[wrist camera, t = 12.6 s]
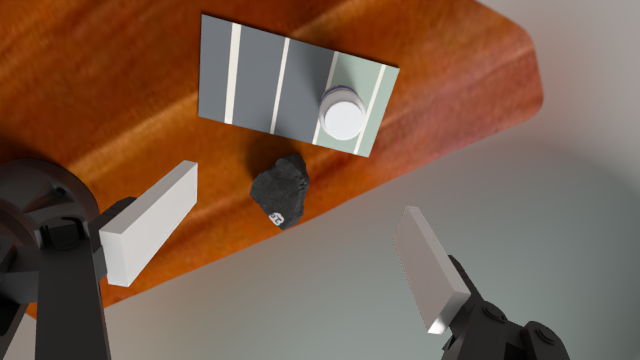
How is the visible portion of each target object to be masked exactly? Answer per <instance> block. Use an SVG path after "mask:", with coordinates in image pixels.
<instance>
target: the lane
mask: <svg viewBox="0 0 640 360" xmlns="http://www.w3.org/2000/svg"><path fill="white" fill-rule="evenodd" d="M399 70H400V69H398V68H394V67H391V66H387V65H384V64H380V63H376V62H373V61H369V60H366V59H362V58H358V57H355V56H351V55H347V54H344V53H340V52H337V51H333V50H329V49H326V48H322V47H319V46H315V45H311V44H308V43H304V42H300V41H297V40H293V39H290V38H286V37H282V36H279V35H275V34H272V33H268V32H264V31H261V30H257V29H253V28H250V27H246V26H243V25H239V24H235V23H232V22H228V21H225V20H221V19H217V18H214V17H210V16H206V15H203V14H202V28H201V56H200V84H199V112H198V116H199V117H204V118H208V119H212V120H216V121H220V122H224V123H228V124H233V125H237V126H241V127H245V128H249V129H253V130H257V131H262V132H266V133H270V134H274V135H278V136H282V137H286V138H291V139H295V140H299V141H303V142H307V143H311V144H315V145H320V146H324V147H328V148H332V149H336V150H340V151H344V152H349V153H353V154H357V155H361V156H365V157H369V154H370V151H371V148H372V146H373V143H374V140H375V137H376V134H377V132H378V129H379V126H380V123H381V120H382V117H383V115H384V112H385V109H386V106H387V103H388V101H389V98H390V95H391V92H392V89H393V86H394V84H395V81H396V78H397V75H398V72H399ZM334 85H346V86H349V87H351V88H352V89H353V90H354V91H355V92H356V93H357V94H358V96H359V97H360V98H361V100H362V101H363V103H364V105H365V109H366V119H365V122H364V124H363V126H362V129H361V131H360V132H359V133H358V134H357V135H356V136H355V137H353V138H351V139H348V140H338V139H335V138H333V137H332V136H330V135H329V134H327V133H326V132H325V131H324V130H323V128H322V127H321V125H320V122H319V105H320V100H321V97H322V95H323V93H324V92H325V91H326V90H327V89H328V88H330V87H332V86H334Z"/></svg>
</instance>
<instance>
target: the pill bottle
mask: <svg viewBox="0 0 640 360" xmlns="http://www.w3.org/2000/svg"><path fill="white" fill-rule="evenodd" d="M365 119H366V109H365V105H364V103H363V101H362V100H361V98H360V97H359V96H358V94H357V93H356V92H355V91H354V90H353V89H352V88H351V87H349V86H346V85H334V86H332V87H330V88H328V89H327V90H326V91H325V92H324V93H323V95H322V97H321V100H320V105H319V122H320V125H321V127H322V128H323V130H324V131H325V132H326V133H327V134H329V135H330V136H332V137H333V138H335V139H338V140H348V139H351V138H353V137H355V136H356V135H357V134H358V133H359V132H360V131H361V129H362V126H363V124H364V122H365Z"/></svg>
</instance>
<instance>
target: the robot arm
mask: <svg viewBox="0 0 640 360" xmlns="http://www.w3.org/2000/svg"><path fill="white" fill-rule="evenodd" d="M197 164H198V163H195V162H191V161H186V160H184V161H183V162H181V163H180V164H179V165H178V166H177V167H175V168H174V169H173V170H172V171H170V172H169V173H168V174H167V175H166V176H164V177H163V178H162V179H161V180H160V181H158V182H157V183H156V184H155V185H153V186H152V187H151V188H150V189H149V190H147V191H146V192H145V193H144V194H143V195H141V196H140V197H139V198H135V197H127V198H125V199H122V200H120V201H117V202H116V203H115V204H113V205H112V206H111V207H110V208H109V209H107V210H106V211H104V212H103V213H102V215H101V214H100V215H99V209H98V206H97V203H96V201H95V199H94V197H93V196H92V194H91V193H90V191H89V190H88V189H87V188H86V187H85V186H84V185H83V184H82V183H81V182H80V181H79V180H78V179H77V178H76V177H74V176H73V175H72V174H70V173H69V172H67V171H66V170H64V169H62V168H60V167H58V166H56V165H54V164H52V163H49V162H46V161H42V160H38V159H31V158H21V159H15V160H12V161H9V162H6V163H4V164H1V165H0V360H3V358H4V356H5V354H6V351H7V349H8V347H9V345H10V343H11V341H12V339H13V337H14V335H15V333H16V330H17V328H18V326H19V324H20V322H21V320H22V318H23V316H24V314H25V311H26V309H27V307H28V305H29V303H33V302H37V323H36V345H35V360H111V354H110V349H109V341H108V335H107V328H106V323H105V316H104V309H103V302H102V296H101V289H100V284H99V281H100V280H101V279H102V278H103V277H104V276H105V275H106V274H107V278H108V283H109V284H113V285H119V286H126V287H129V286H130V284H131V283H132V282H133V281H134V279H135V278H136V277H137V276H138V274H139V273H140V272H141V271H142V269H143V268H144V267H145V266H146V264H147V263H148V262H149V261H150V259H151V258H152V257H153V256H154V254H155V253H156V252H157V251H158V249H159V248H160V247H161V246H162V244H163V243H164V242H165V241H166V239H167V238H168V237H169V236H170V234H171V233H172V232H173V231H174V229H175V228H176V227H177V226H178V225H179V223H180V222H181V221H182V220H183V218H184V217H185V216H186V215H187V213H188V212H189V211H190V210H191V208H192V207H193V206H194V205H195V203H196V202H197ZM392 240H393V243H394V245H395V248H396V250H397V253H398V256H399V258H400V261H401V264H402V266H403V269H404V272H405V274H406V277H407V280H408V282H409V285H410V287H411V290H412V293H413V295H414V298H415V301H416V303H417V306H418V308H419V311H420V314H421V316H422V319H423V321H424V324H425V327H426V329H427V332H429V333H436V334H444V332H445V331H446V329H447V328H448V327H450V329H451V331H452V333H453V335H452V336H451V337H450V339H449V340H448V341H447V343H446V344H445V346H444V347H443V348H442V349H443V350H444V354H443V356H442V359H441V360H570V358H569V356H568V353H567V351H566V349H565V346H564V344H563V343H562V341H561V339H560V338H559V337H558V336H557V335H556V334H555V333H554V332H553V331H552V330H551V329H549V328H548V327H546V326H544V325H542V324H541V323H538V322H535V321H529V322H528V323H527V324H526V325H525V326H524V327H522V326H520V325H518V324H515V323H513V322H511V321H508V319H507V318H506V316H505V314H504V313H503V312H502V311H501V310H500V309H499V308H498V307H496V306H495V305H493V304H492V303H490V302H488V301H484V300H483V298H482V297H481V295H480V294H479V292H478V291H477V289H476V287H475V286H474V284H473V283H472V281H471V280H470V279H469V277H468V275H467V274H466V272H465V270H464V269H463V267H462V266H461V264H460V263H459V262H458V261H457V260H456V259H455V258H454V257H453V256H452V255H447V254H446V252H445V251H444V249H443V247H442V246H441V244H440V243H439V241H438V239H437V238H436V236H435V234H434V233H433V231H432V230H431V228H430V226H429V225H428V223H427V221H426V220H425V218H424V217H423V215H422V213H421V212H420V210H419V209H418V208H417V207H412V206H406V208H405V210H404V213H403V215H402V217H401V219H400V222H399V224H398V226H397V229H396V231H395V233H394V235H393V237H392Z"/></svg>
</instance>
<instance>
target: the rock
mask: <svg viewBox="0 0 640 360" xmlns="http://www.w3.org/2000/svg"><path fill="white" fill-rule="evenodd" d="M308 187H309V177H308V174H307V172H306V164H305V162H304V161H303V160H302V159H301V158H300V157H299V155H298V154H296V155H293V154H289V155H288V156H285V157H284V158H280V159H278V160H277V162H276V164H274V165H273V166H271V167H270V168H269V169H267V170H266V171H264V172H262V173H260V174H259V175H258V176H257V177H256V178H255V180H254V182H253V184H252V185H251V191H250V195H251V196H252V197H253V199H254V200H255V201H256V202H257V203H258V204H259V205H260V207H261V208H262V209H263V211H264V212H265V213H266V214H267V215H268V217H269V218H270V219H271V220H272V221H273V222H274V224H275V225H276V226H277V227H279V228H280V229H281V230H285V229H288V228H289V227H291V226H294V225H295V224H297V223H298V222H299V219H300V218H301V217H302V216H303V211H304V206H303V202H304V199H305V195H306V191H307V190H308Z"/></svg>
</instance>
